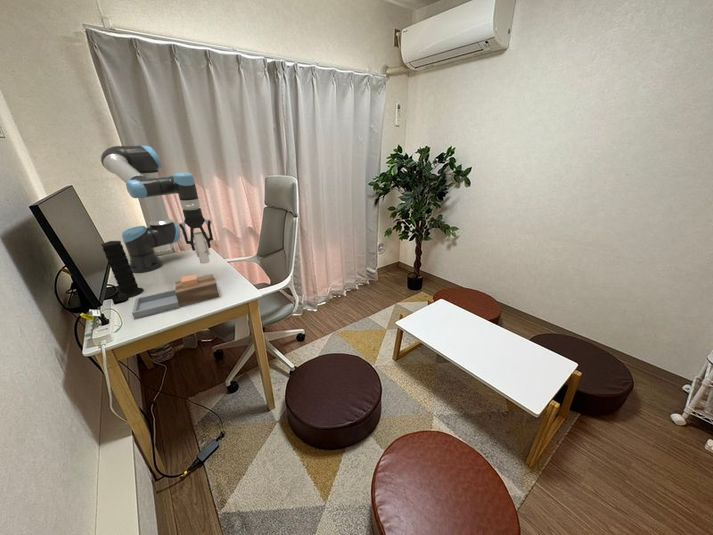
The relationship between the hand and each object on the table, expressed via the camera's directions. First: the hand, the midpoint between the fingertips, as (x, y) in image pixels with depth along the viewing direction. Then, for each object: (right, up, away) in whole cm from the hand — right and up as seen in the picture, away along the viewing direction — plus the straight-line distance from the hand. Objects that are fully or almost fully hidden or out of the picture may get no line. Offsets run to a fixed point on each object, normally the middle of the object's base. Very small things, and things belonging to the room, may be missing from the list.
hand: (203, 255), depth 137 cm
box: (-11, -23, -15) cm, 30 cm away
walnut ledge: (+3, -20, -8) cm, 21 cm away
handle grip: (-32, -19, -4) cm, 38 cm away
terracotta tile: (+1, -14, -12) cm, 18 cm away
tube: (0, -4, +2) cm, 4 cm away
